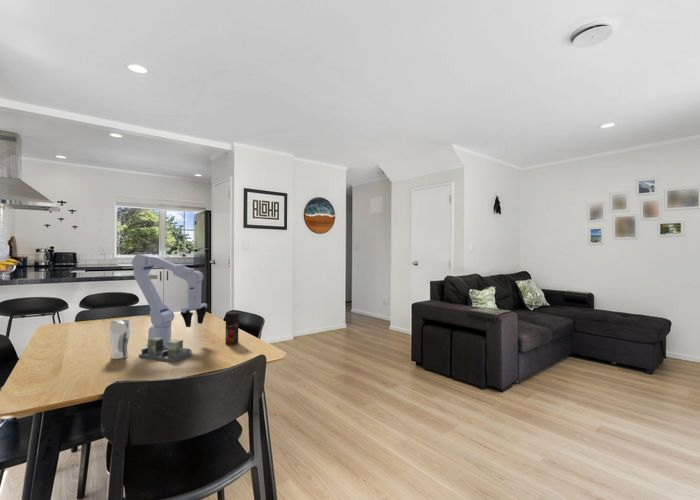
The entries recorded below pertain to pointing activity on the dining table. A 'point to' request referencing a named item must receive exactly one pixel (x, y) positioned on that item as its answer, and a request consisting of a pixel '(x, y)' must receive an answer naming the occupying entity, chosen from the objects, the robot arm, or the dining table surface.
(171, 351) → the sage green rectangular prism
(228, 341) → the deodorant
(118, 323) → the beer glass
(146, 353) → the grey slotted rack
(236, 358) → the dining table surface
